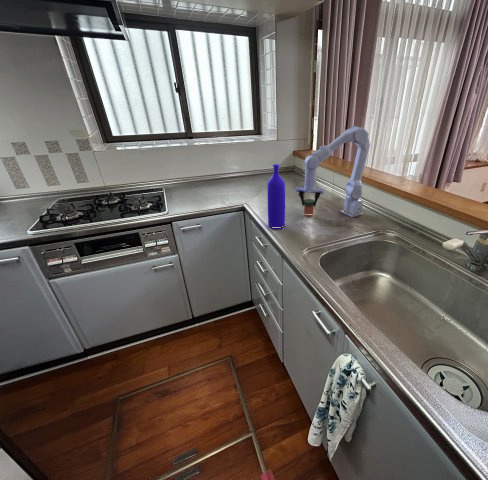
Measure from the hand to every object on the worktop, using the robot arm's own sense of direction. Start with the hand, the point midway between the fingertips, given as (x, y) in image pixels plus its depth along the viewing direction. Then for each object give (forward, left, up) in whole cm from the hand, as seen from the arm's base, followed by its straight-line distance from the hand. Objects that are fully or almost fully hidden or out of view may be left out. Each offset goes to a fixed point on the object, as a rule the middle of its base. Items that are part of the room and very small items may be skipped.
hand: (308, 205), depth 141 cm
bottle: (-3, +22, -6) cm, 23 cm away
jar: (0, 0, -6) cm, 6 cm away
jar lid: (0, 0, +2) cm, 2 cm away
